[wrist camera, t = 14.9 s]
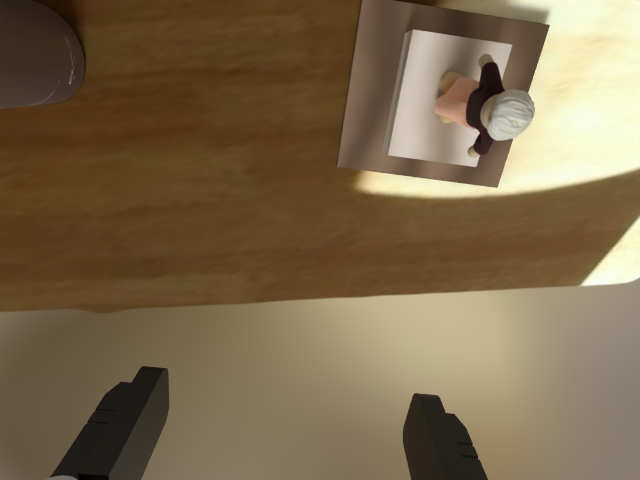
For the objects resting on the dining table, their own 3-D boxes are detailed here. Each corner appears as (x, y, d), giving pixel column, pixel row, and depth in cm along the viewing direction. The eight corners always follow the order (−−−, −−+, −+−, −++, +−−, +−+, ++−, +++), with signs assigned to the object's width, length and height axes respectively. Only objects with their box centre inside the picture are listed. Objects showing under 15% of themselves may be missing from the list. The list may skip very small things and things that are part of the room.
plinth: (336, 164, 43) (338, 174, 39) (361, -3, 37) (367, -13, 32) (492, 184, 44) (511, 196, 40) (543, 26, 38) (571, 20, 33)
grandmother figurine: (427, 65, 35) (483, 60, 23) (470, 54, 34) (548, 44, 23) (436, 149, 38) (489, 182, 26) (475, 140, 37) (547, 170, 26)
